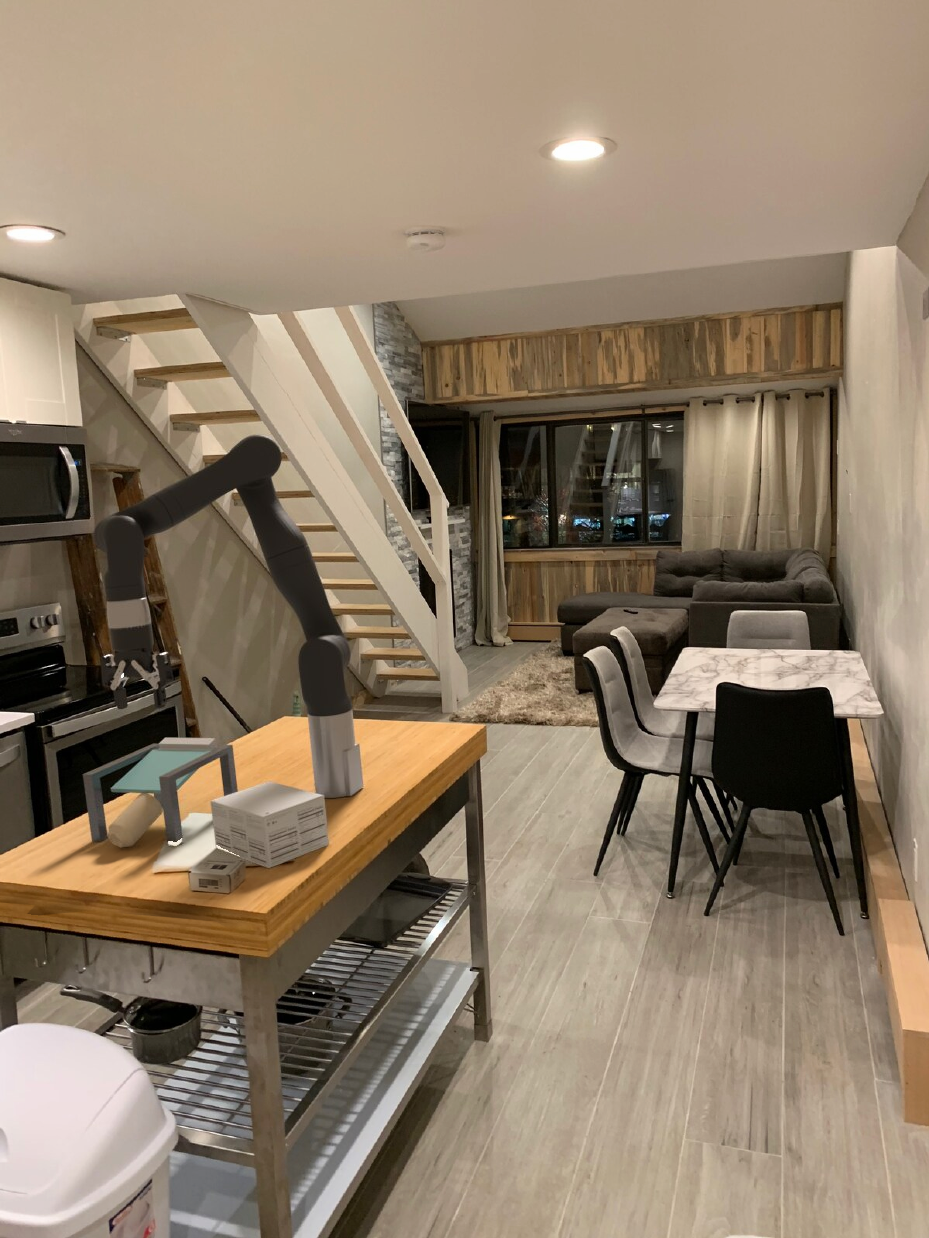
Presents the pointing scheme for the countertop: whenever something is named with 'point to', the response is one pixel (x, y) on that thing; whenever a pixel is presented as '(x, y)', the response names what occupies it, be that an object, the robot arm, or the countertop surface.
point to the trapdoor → (164, 764)
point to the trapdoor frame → (167, 787)
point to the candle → (134, 820)
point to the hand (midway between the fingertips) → (141, 708)
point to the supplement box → (270, 823)
